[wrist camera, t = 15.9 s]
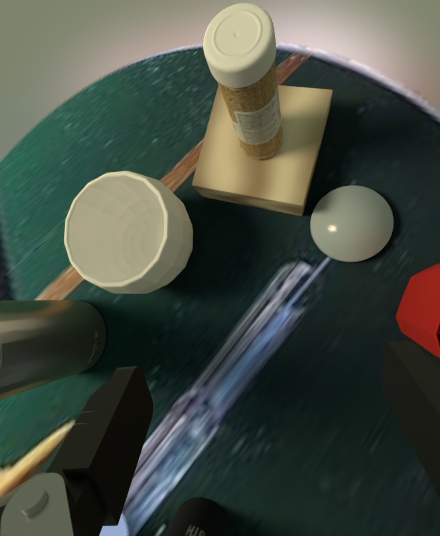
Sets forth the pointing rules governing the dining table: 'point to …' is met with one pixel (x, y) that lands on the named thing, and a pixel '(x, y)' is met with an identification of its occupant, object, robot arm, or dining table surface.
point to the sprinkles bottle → (247, 75)
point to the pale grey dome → (351, 224)
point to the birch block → (270, 169)
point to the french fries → (422, 309)
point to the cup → (128, 233)
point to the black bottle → (199, 520)
